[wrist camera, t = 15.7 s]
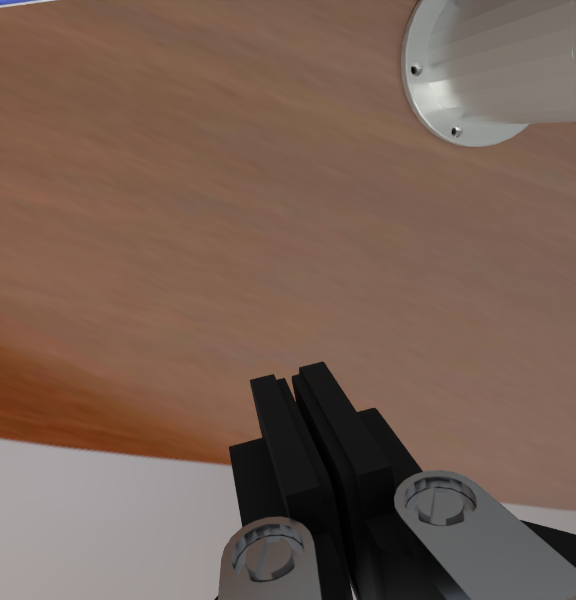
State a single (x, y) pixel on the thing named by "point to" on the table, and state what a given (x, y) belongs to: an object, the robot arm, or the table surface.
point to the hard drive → (19, 2)
